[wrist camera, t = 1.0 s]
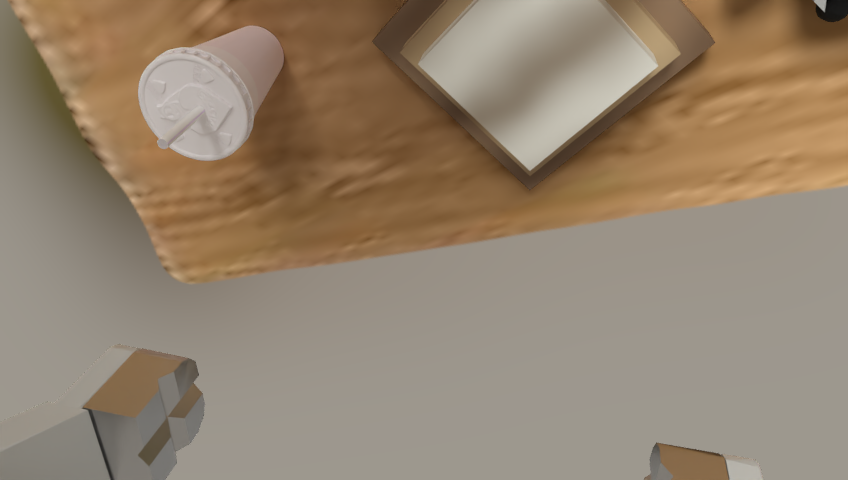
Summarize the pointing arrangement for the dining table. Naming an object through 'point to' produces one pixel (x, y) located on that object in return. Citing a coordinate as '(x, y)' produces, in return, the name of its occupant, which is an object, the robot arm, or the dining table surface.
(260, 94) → the smoothie
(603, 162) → the dining table surface
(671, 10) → the square stepped pedestal
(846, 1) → the robot toy
